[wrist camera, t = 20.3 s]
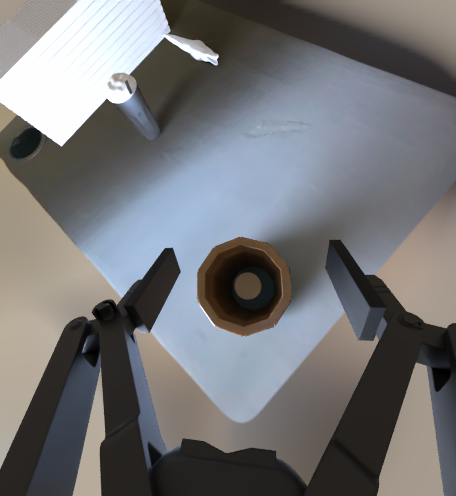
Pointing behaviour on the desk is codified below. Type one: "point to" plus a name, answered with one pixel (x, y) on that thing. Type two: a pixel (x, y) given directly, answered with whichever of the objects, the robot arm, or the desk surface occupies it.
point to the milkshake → (132, 104)
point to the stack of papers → (72, 56)
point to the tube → (220, 286)
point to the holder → (252, 288)
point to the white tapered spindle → (194, 48)
